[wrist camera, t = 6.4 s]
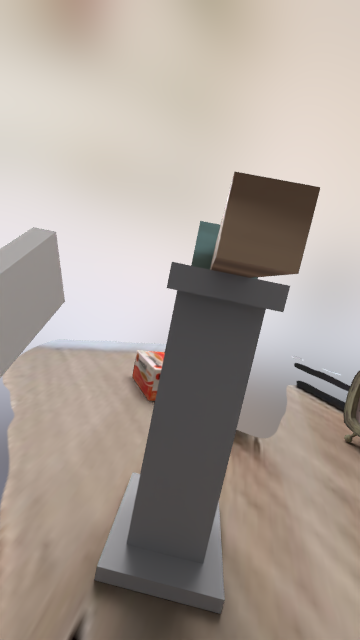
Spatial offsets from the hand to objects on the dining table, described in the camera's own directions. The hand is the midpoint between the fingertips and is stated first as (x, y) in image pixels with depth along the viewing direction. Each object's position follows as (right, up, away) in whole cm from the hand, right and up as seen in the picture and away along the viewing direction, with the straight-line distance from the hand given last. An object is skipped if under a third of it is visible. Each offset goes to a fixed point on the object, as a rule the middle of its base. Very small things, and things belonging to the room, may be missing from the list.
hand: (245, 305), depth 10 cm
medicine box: (-9, -18, +68) cm, 71 cm away
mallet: (+2, +3, +15) cm, 15 cm away
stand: (-4, -25, +25) cm, 35 cm away
